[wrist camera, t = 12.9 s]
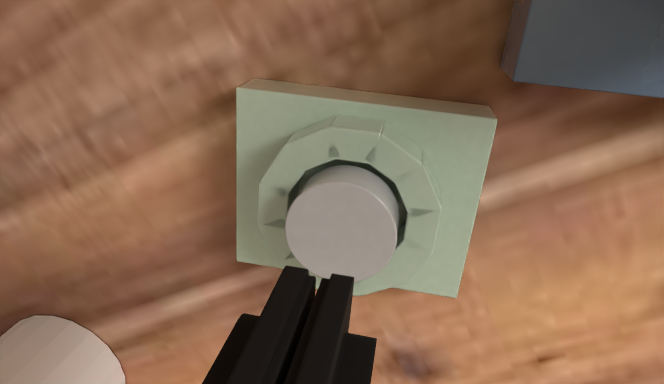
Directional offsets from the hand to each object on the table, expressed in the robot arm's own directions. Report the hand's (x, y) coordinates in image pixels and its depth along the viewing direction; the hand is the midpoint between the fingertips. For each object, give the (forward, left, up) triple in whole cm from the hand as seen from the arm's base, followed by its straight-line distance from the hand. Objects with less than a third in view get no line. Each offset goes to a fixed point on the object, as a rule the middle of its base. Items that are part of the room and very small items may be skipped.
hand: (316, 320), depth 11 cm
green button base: (0, +1, -11) cm, 11 cm away
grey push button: (0, +1, -7) cm, 7 cm away
